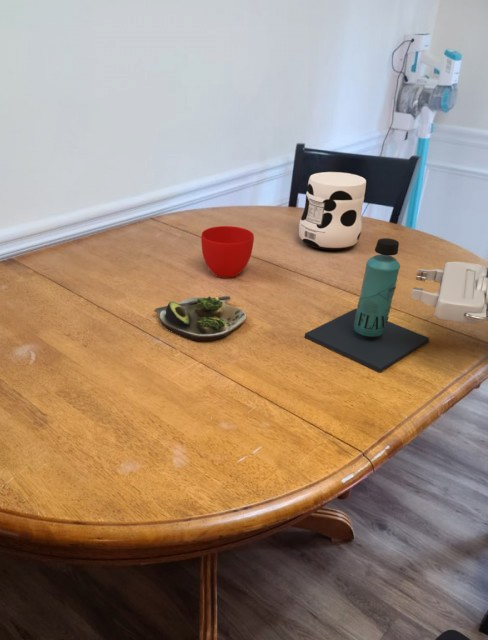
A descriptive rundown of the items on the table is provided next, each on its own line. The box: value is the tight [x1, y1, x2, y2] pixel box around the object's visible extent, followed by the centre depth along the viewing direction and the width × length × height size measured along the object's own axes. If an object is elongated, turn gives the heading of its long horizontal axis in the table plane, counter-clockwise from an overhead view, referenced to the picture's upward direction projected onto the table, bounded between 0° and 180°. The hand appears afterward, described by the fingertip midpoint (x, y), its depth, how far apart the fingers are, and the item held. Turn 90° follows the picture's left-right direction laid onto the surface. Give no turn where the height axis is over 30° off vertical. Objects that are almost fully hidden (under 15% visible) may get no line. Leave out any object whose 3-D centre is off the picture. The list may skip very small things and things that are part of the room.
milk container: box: [298, 171, 367, 251], centre depth 157 cm, size 17×17×18 cm
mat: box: [304, 308, 431, 374], centre depth 116 cm, size 18×18×1 cm
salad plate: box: [153, 295, 247, 343], centre depth 122 cm, size 19×18×5 cm
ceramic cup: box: [200, 225, 255, 278], centre depth 143 cm, size 13×17×10 cm
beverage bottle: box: [354, 237, 401, 337], centre depth 110 cm, size 6×7×20 cm
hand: (413, 283), depth 107 cm, fingers open, 8 cm apart
